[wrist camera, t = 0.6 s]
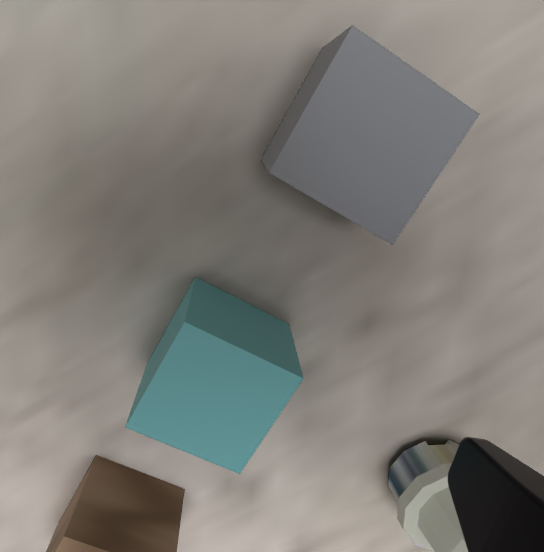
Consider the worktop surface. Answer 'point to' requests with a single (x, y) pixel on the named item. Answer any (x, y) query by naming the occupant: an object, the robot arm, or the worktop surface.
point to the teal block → (216, 378)
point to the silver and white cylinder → (427, 497)
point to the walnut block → (120, 513)
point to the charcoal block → (367, 134)
